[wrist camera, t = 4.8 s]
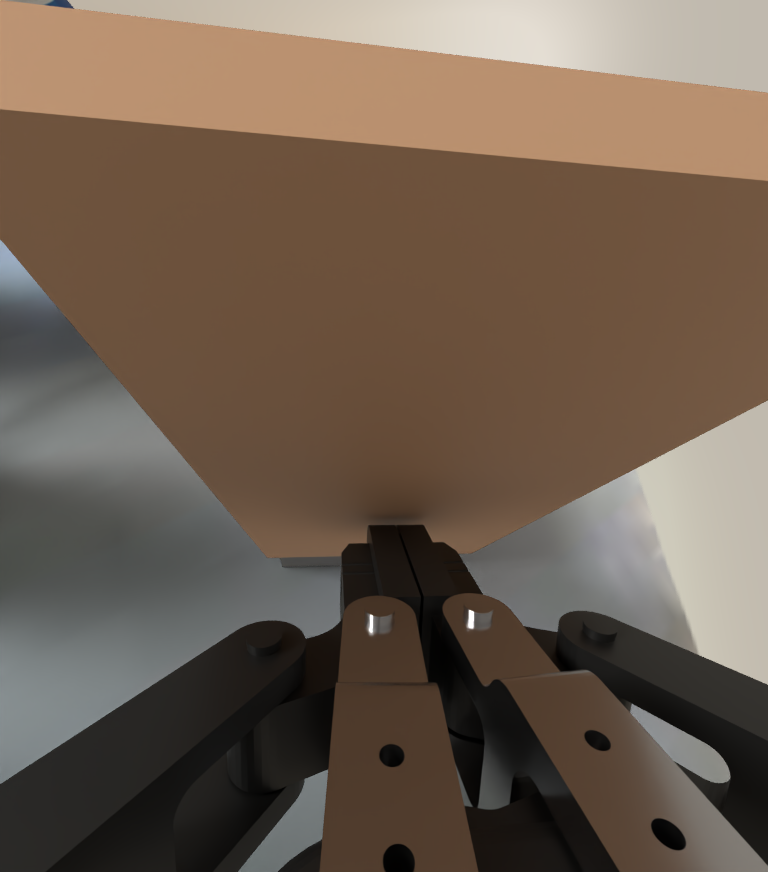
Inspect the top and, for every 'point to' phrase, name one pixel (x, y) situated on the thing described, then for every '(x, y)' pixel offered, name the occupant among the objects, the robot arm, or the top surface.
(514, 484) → the box lid
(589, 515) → the top surface
